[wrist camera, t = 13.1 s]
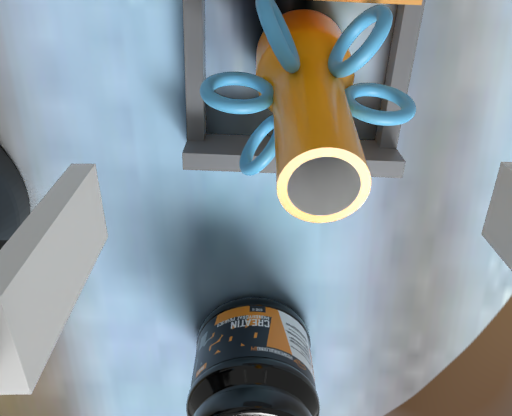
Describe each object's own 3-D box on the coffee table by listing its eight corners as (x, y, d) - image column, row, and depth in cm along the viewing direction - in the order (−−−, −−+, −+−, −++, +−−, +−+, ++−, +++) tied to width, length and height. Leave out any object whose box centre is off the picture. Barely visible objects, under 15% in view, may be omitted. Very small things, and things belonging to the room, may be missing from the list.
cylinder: (412, -23, 29) (516, 83, 17) (371, 127, 35) (426, 278, 24) (211, -42, 28) (176, 54, 16) (208, 115, 35) (181, 262, 23)
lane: (190, 147, 35) (176, 189, 29) (182, -144, 27) (159, -172, 21) (388, 155, 36) (415, 198, 30) (441, -131, 27) (495, -155, 21)
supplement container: (317, 295, 42) (337, 410, 32) (300, 378, 47) (313, 500, 37) (200, 286, 42) (181, 399, 31) (196, 370, 47) (178, 492, 36)
